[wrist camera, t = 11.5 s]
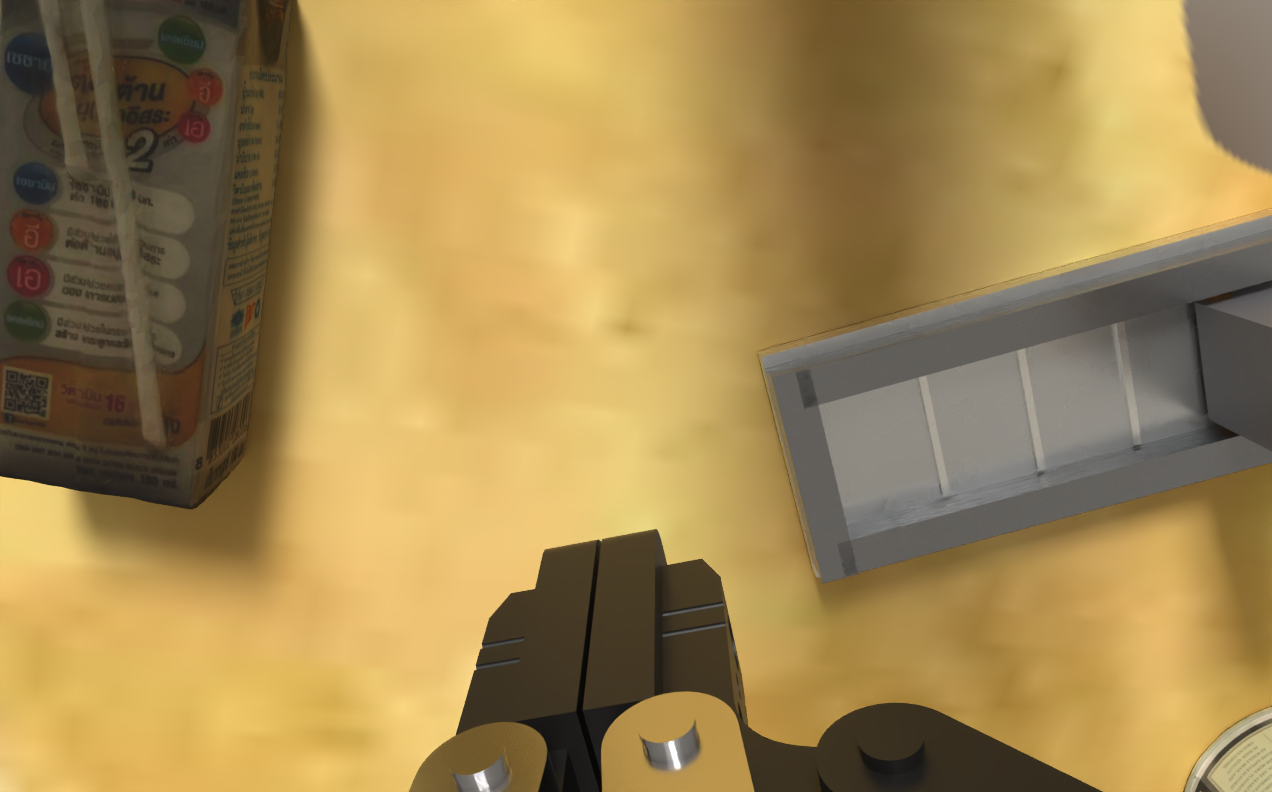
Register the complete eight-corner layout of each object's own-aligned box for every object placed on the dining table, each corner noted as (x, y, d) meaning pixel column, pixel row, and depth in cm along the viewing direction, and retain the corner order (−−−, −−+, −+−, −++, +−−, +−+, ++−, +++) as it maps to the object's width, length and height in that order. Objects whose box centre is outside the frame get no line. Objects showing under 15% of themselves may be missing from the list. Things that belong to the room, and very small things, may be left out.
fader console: (812, 567, 43) (824, 594, 41) (757, 351, 41) (767, 366, 38) (1363, 419, 42) (1409, 438, 40) (1345, 187, 39) (1394, 192, 37)
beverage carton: (312, -20, 36) (251, -47, 30) (255, 466, 42) (192, 530, 35) (88, -71, 36) (-23, -110, 29) (58, 429, 41) (-42, 488, 34)
